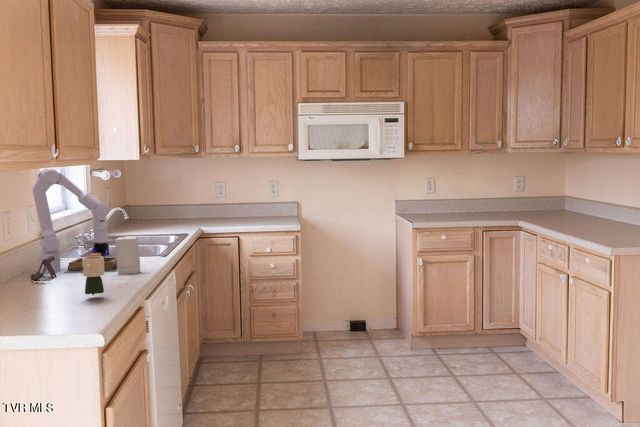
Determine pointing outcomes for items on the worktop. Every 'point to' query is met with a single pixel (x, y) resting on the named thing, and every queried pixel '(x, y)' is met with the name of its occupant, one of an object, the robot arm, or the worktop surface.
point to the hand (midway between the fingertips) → (101, 260)
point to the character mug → (93, 274)
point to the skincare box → (127, 255)
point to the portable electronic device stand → (47, 264)
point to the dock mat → (82, 271)
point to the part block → (95, 254)
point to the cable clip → (105, 252)
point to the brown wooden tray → (109, 264)
